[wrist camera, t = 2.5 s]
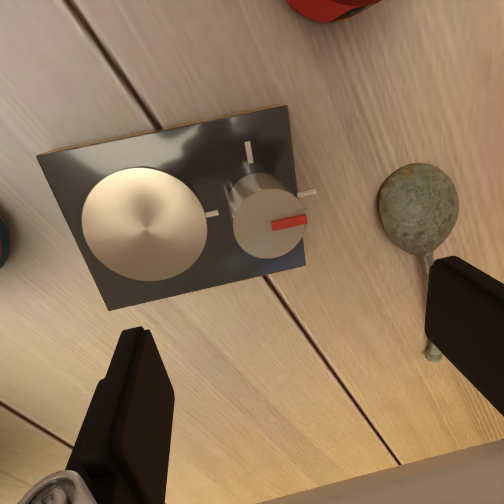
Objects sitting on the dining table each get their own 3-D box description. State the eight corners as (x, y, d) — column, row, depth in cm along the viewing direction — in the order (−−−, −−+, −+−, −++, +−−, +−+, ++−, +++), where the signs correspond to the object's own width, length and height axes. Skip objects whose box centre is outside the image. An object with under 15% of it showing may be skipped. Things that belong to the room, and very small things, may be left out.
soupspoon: (439, 149, 27) (364, 177, 27) (468, 154, 23) (382, 186, 24) (456, 342, 36) (399, 361, 36) (478, 364, 33) (416, 384, 33)
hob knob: (233, 237, 24) (241, 268, 19) (221, 179, 22) (226, 199, 17) (291, 225, 24) (311, 252, 20) (283, 166, 22) (304, 182, 18)
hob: (115, 294, 27) (107, 312, 25) (51, 150, 22) (33, 156, 19) (311, 249, 28) (322, 263, 26) (296, 100, 23) (308, 100, 20)
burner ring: (61, 181, 20) (59, 182, 20) (190, 154, 21) (190, 155, 21) (109, 290, 24) (108, 292, 24) (218, 265, 25) (219, 267, 24)
